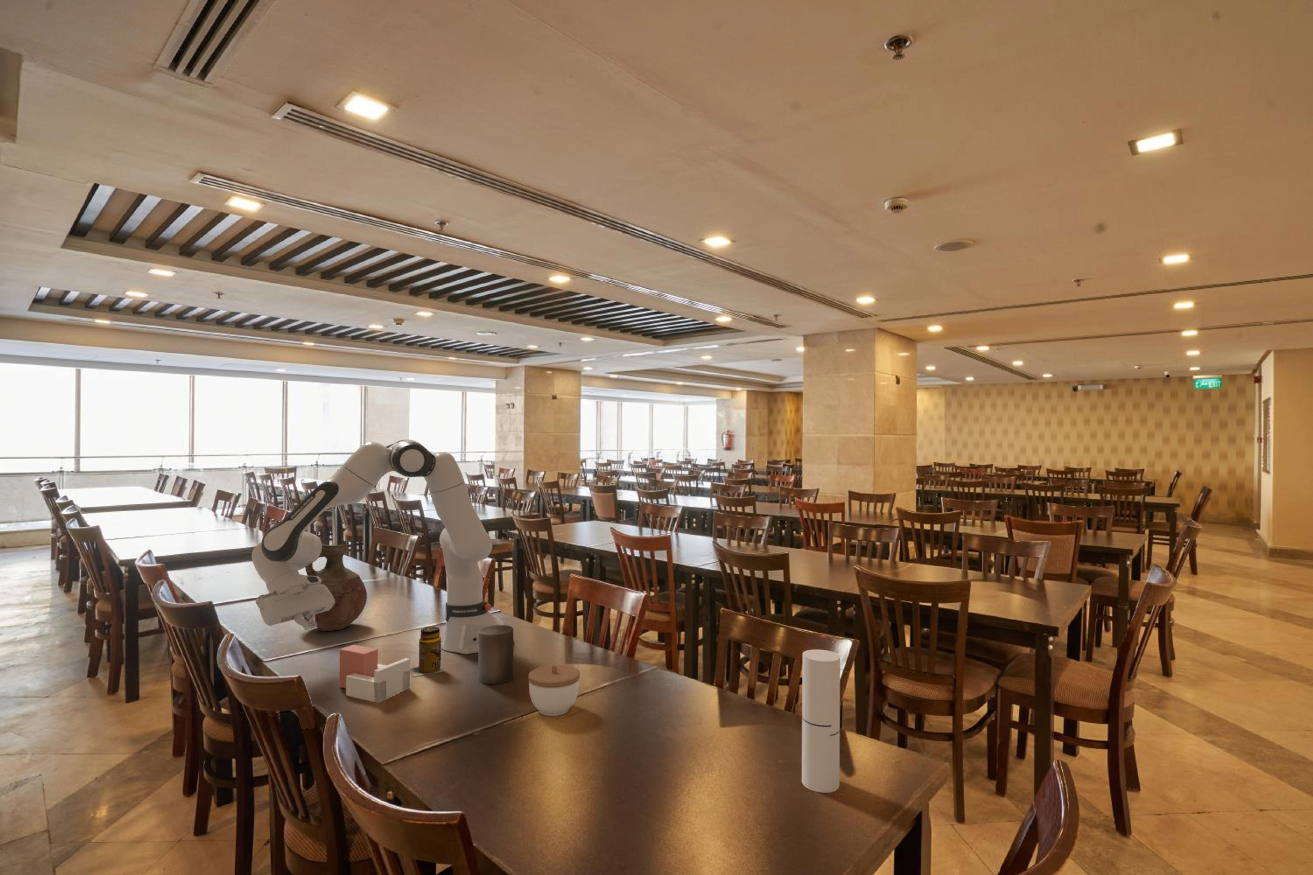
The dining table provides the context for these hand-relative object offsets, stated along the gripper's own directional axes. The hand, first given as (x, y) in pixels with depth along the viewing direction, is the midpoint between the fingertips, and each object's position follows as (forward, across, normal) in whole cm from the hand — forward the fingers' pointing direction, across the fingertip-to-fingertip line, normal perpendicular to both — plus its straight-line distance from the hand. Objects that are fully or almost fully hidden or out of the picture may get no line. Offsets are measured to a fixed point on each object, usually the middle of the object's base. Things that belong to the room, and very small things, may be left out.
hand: (311, 627), depth 185 cm
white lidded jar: (+62, +10, -42) cm, 76 cm away
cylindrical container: (+109, +4, -90) cm, 141 cm away
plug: (+23, 0, -4) cm, 23 cm away
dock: (+28, 0, -8) cm, 29 cm away
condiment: (+28, +18, -8) cm, 34 cm away
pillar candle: (+43, +22, -23) cm, 54 cm away
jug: (-15, +36, +35) cm, 52 cm away
